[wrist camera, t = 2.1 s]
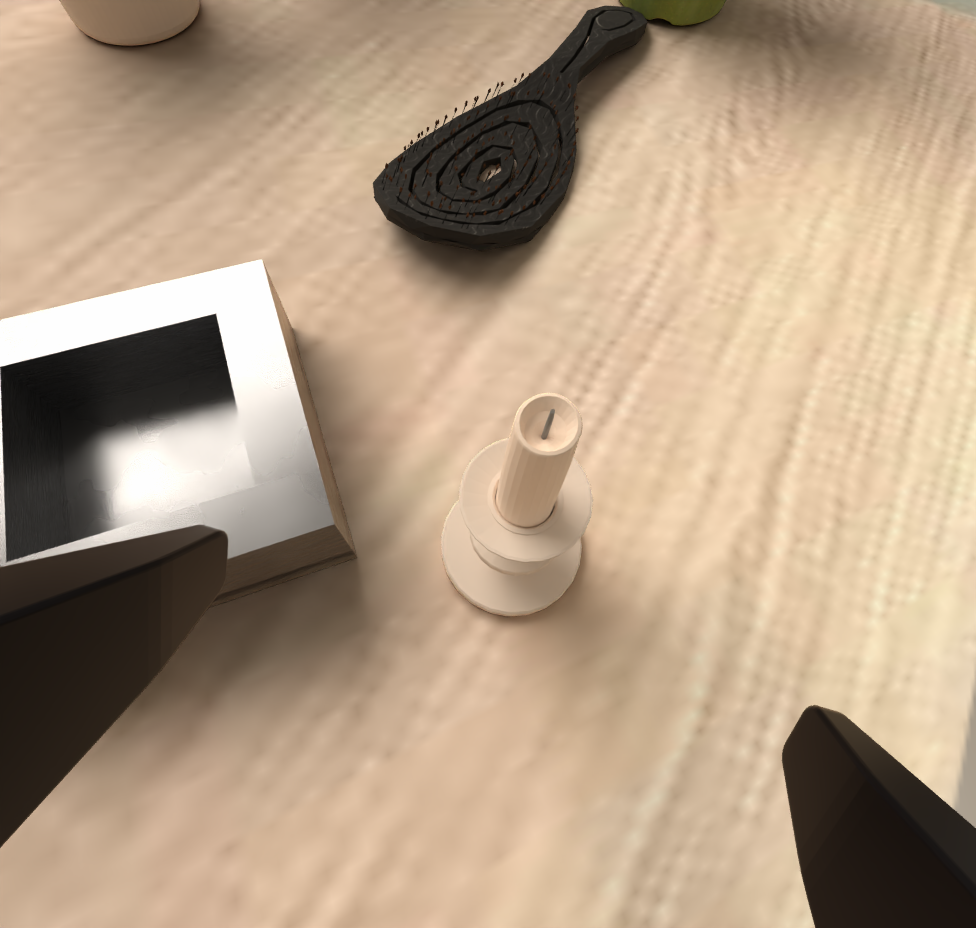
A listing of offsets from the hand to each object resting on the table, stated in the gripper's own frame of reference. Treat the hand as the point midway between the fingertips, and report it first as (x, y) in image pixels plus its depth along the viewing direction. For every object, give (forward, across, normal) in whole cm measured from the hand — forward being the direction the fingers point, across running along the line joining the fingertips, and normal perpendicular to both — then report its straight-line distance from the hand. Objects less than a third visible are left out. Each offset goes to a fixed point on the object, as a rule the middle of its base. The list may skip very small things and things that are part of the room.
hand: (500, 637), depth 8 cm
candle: (+12, 0, +5) cm, 13 cm away
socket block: (+11, +13, +5) cm, 18 cm away
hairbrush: (+29, +5, -12) cm, 32 cm away
